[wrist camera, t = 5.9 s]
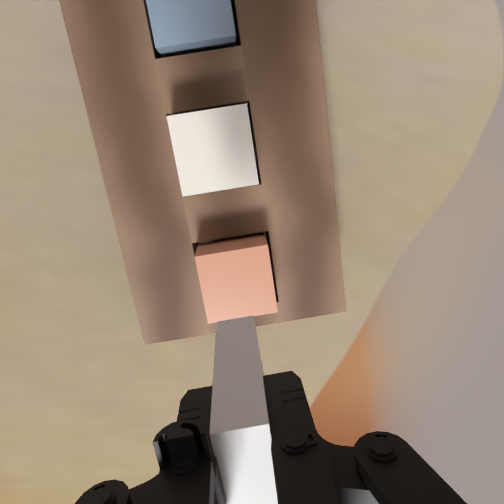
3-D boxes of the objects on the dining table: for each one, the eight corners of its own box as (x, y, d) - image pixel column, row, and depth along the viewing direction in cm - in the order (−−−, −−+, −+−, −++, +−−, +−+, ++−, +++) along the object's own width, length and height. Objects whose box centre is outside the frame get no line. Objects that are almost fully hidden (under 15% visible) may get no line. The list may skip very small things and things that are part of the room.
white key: (187, 190, 26) (182, 196, 23) (173, 118, 25) (166, 116, 22) (255, 179, 26) (259, 184, 24) (244, 107, 25) (246, 103, 22)
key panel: (158, 312, 34) (145, 344, 28) (79, -22, 27) (43, -61, 22) (327, 284, 34) (346, 311, 28) (290, -54, 27) (305, -101, 22)
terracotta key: (209, 305, 29) (207, 323, 26) (198, 244, 27) (194, 256, 24) (272, 294, 29) (277, 312, 26) (263, 233, 27) (267, 244, 24)
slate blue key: (163, 58, 25) (155, 48, 22) (147, -23, 24) (137, -45, 21) (234, 47, 25) (235, 35, 22) (222, -35, 24) (221, -58, 21)
